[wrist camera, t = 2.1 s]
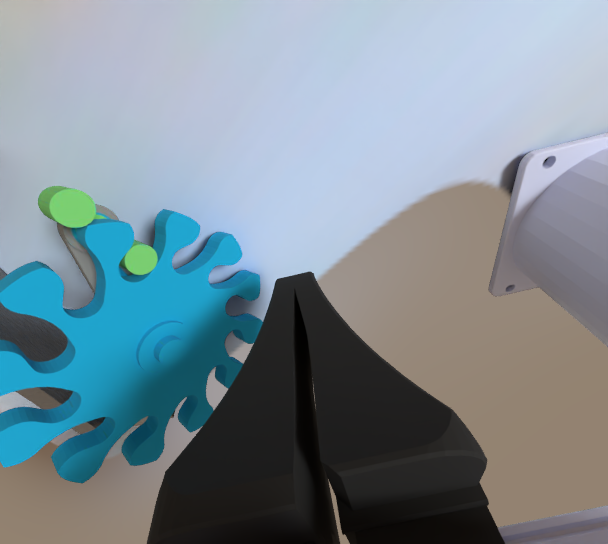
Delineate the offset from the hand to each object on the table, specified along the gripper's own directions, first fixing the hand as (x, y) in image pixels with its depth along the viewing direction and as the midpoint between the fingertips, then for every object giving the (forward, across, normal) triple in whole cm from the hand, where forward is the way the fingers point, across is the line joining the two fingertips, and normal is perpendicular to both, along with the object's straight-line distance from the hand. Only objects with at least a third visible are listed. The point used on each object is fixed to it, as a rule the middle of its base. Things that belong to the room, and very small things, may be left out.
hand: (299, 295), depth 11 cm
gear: (+4, +6, 0) cm, 7 cm away
